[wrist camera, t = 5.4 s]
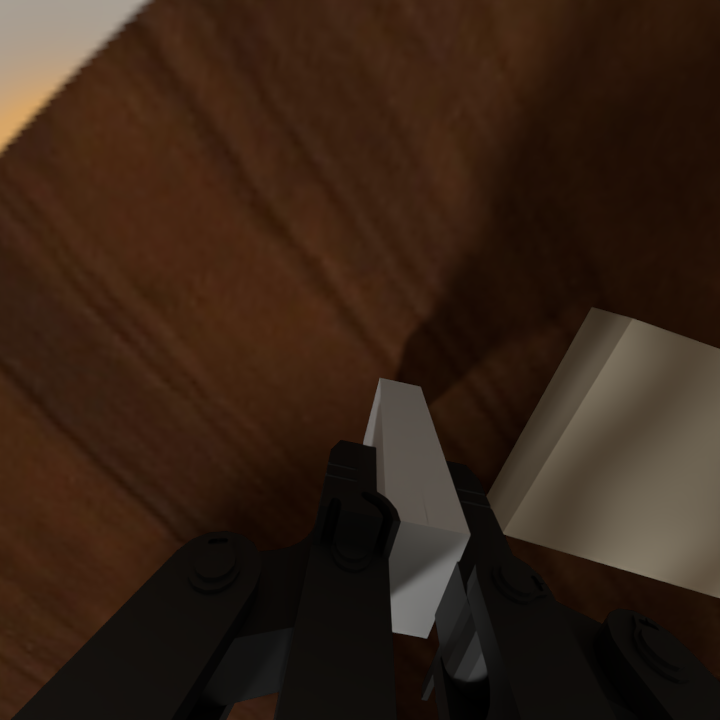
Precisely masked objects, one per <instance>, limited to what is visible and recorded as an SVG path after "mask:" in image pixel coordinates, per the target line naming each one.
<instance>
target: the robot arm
mask: <svg viewBox="0 0 720 720" xmlns="http://www.w3.org/2000/svg"><path fill="white" fill-rule="evenodd" d="M490 507H491V505H490V503H489V501H488V499H487V497H486V496H485V492H484V490H483V488H482V486H481V483H480V481H479V479H478V478H477V477H476V476H475V475H474V473H473V472H472V471H471V470H470V469H469V468H468V467H467V466H466V465H463V464H458V463H454V462H449V461H445V458H444V455H443V452H442V449H441V446H440V443H439V440H438V437H437V434H436V431H435V428H434V425H433V422H432V419H431V416H430V413H429V410H428V407H427V404H426V401H425V398H424V395H423V392H422V389H421V387H420V386H415V385H411V384H406V383H401V382H397V381H392V380H388V379H383V378H380V379H379V383H378V387H377V391H376V395H375V399H374V403H373V407H372V410H371V414H370V418H369V422H368V426H367V430H366V434H365V438H364V442H363V445H362V444H358V443H353V442H348V441H343V440H340V441H339V442H338V443H337V444H336V445H335V446H334V447H333V448H332V449H331V453H330V457H329V462H328V466H327V471H326V475H325V480H324V484H323V489H322V493H321V498H320V502H319V507H318V512H317V517H316V521H315V525H314V528H313V530H312V531H311V532H310V534H309V535H308V536H307V537H306V538H305V539H303V540H302V541H301V542H299V543H297V544H295V545H293V546H291V547H288V548H283V549H278V550H270V551H260V552H258V550H257V548H256V547H255V545H254V543H253V542H251V541H250V540H248V539H247V538H246V537H244V536H243V535H240V534H236V533H232V532H228V531H223V532H211V533H207V534H205V535H202V536H199V537H197V538H194V539H192V540H191V541H189V542H188V543H187V544H185V545H184V546H183V547H181V548H180V549H179V550H177V551H176V552H175V553H174V554H173V555H172V556H171V557H170V558H169V559H168V560H167V561H166V562H165V563H164V564H163V565H162V566H161V567H160V569H159V570H158V571H157V572H156V573H155V574H154V575H153V576H152V577H151V578H150V579H149V580H148V581H147V582H146V583H145V584H144V585H143V586H142V587H141V588H140V589H139V590H138V591H137V592H136V593H135V594H134V595H133V596H132V597H131V598H130V599H129V600H128V601H127V602H126V603H125V604H124V605H123V606H122V607H121V608H120V609H119V610H118V611H117V612H116V613H115V614H114V615H113V616H112V617H111V618H110V619H109V620H108V621H107V622H106V623H105V624H104V625H103V626H102V627H101V628H100V629H99V630H98V632H97V633H96V634H95V635H94V636H93V637H92V638H91V639H90V640H89V641H88V642H87V643H86V644H85V645H84V646H83V647H82V648H81V649H80V650H79V651H78V652H77V653H76V654H75V655H74V656H73V657H72V658H71V659H70V660H69V661H68V662H67V663H66V664H65V665H64V666H63V667H62V668H61V669H60V670H59V671H58V672H57V673H56V674H55V675H54V676H53V677H52V678H51V679H50V680H49V681H48V682H47V683H46V684H45V685H44V686H43V687H42V688H41V689H40V690H39V691H38V692H37V693H36V695H35V696H34V697H33V698H32V699H31V700H30V701H29V702H28V703H27V704H26V705H25V706H24V707H23V708H22V709H21V710H20V711H19V712H18V713H17V714H16V715H15V716H14V717H13V718H12V719H11V720H226V719H227V717H228V715H229V713H230V711H231V709H232V707H233V705H234V703H236V702H240V701H244V700H248V699H252V698H256V697H260V696H264V695H268V694H272V693H276V692H279V695H278V700H277V705H276V710H275V714H274V719H273V720H397V713H396V694H395V674H394V655H393V635H392V632H395V633H401V634H406V635H411V636H416V637H421V638H426V639H427V638H428V635H429V633H430V630H431V628H432V626H433V623H434V621H435V620H436V626H437V632H438V639H439V648H438V650H437V652H436V654H435V657H434V659H433V661H432V664H431V666H430V668H429V670H428V673H427V675H426V677H425V679H424V682H423V684H422V697H421V700H425V701H427V700H428V698H429V696H430V694H431V691H432V689H433V687H434V686H435V694H436V699H435V702H436V703H437V708H438V715H439V720H720V682H719V681H718V680H717V679H716V678H715V677H714V676H713V675H712V674H711V673H710V672H709V671H708V670H707V668H706V667H705V666H704V665H703V664H702V663H701V662H700V661H699V660H698V659H697V658H696V657H695V656H694V655H693V654H692V653H691V652H690V651H689V650H688V649H687V648H686V647H685V646H684V645H683V644H682V643H681V642H680V641H679V640H678V639H677V638H675V637H674V636H673V635H672V634H671V633H670V632H669V631H667V630H666V629H664V628H663V627H661V626H660V625H659V624H657V623H656V622H654V621H653V620H651V619H650V618H648V617H645V616H643V615H641V614H639V613H637V612H635V611H632V610H626V609H617V610H614V611H612V612H610V613H609V615H608V616H607V618H606V619H605V621H604V622H603V624H601V623H599V622H597V621H595V620H593V619H591V618H589V617H587V616H585V615H583V614H581V613H579V612H577V611H574V610H572V609H570V608H568V607H566V606H564V605H562V604H561V603H559V602H557V601H556V600H555V598H554V596H553V594H552V592H551V591H550V589H549V588H548V586H547V585H546V583H545V582H544V580H543V579H542V577H540V576H539V575H538V574H537V573H536V572H535V571H534V570H533V569H532V568H531V567H530V566H529V565H528V564H526V563H524V562H523V561H521V560H520V559H518V558H516V557H515V556H513V554H512V552H511V549H510V547H509V545H508V543H507V541H506V538H505V536H504V534H503V532H502V530H501V527H500V525H499V523H498V521H497V519H496V516H495V514H494V512H493V510H492V509H491V508H490Z"/></svg>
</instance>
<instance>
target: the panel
mask: <svg viewBox="0 0 720 720" xmlns="http://www.w3.org/2000/svg"><path fill="white" fill-rule="evenodd" d="M486 497H487V499H488V501H489V503H490V505H491V507H490V508H491V509H492V510H493V512H494V514H495V516H496V519H497V521H498V523H499V525H500V527H501V530H502V532H503V534H504V535H507V536H511V537H514V538H518V539H521V540H524V541H528V542H531V543H534V544H538V545H541V546H545V547H548V548H551V549H555V550H558V551H562V552H565V553H568V554H572V555H575V556H579V557H582V558H585V559H589V560H592V561H595V562H599V563H602V564H606V565H609V566H612V567H616V568H619V569H623V570H626V571H629V572H633V573H636V574H639V575H643V576H646V577H650V578H653V579H656V580H660V581H663V582H667V583H670V584H673V585H677V586H680V587H684V588H687V589H690V590H694V591H697V592H700V593H704V594H707V595H711V596H714V597H717V598H720V349H718V348H716V347H713V346H710V345H707V344H704V343H701V342H698V341H696V340H693V339H690V338H687V337H684V336H681V335H679V334H676V333H673V332H670V331H667V330H664V329H662V328H659V327H656V326H653V325H650V324H647V323H645V322H642V321H639V320H636V319H633V318H630V317H626V316H622V315H619V314H615V313H612V312H608V311H604V310H601V309H597V308H594V307H592V308H591V309H590V311H589V313H588V315H587V316H586V318H585V320H584V322H583V324H582V325H581V327H580V329H579V331H578V333H577V334H576V336H575V338H574V340H573V342H572V343H571V345H570V347H569V349H568V351H567V352H566V354H565V356H564V358H563V360H562V361H561V363H560V365H559V367H558V369H557V370H556V372H555V374H554V376H553V378H552V379H551V381H550V383H549V385H548V386H547V388H546V390H545V392H544V394H543V395H542V397H541V399H540V401H539V403H538V404H537V406H536V408H535V410H534V412H533V413H532V415H531V417H530V419H529V421H528V422H527V424H526V426H525V428H524V430H523V431H522V433H521V435H520V437H519V439H518V440H517V442H516V444H515V446H514V448H513V449H512V451H511V453H510V455H509V456H508V458H507V460H506V462H505V464H504V465H503V467H502V469H501V471H500V473H499V474H498V476H497V478H496V480H495V482H494V483H493V485H492V487H491V489H490V491H489V492H488V494H487V496H486Z"/></svg>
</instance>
